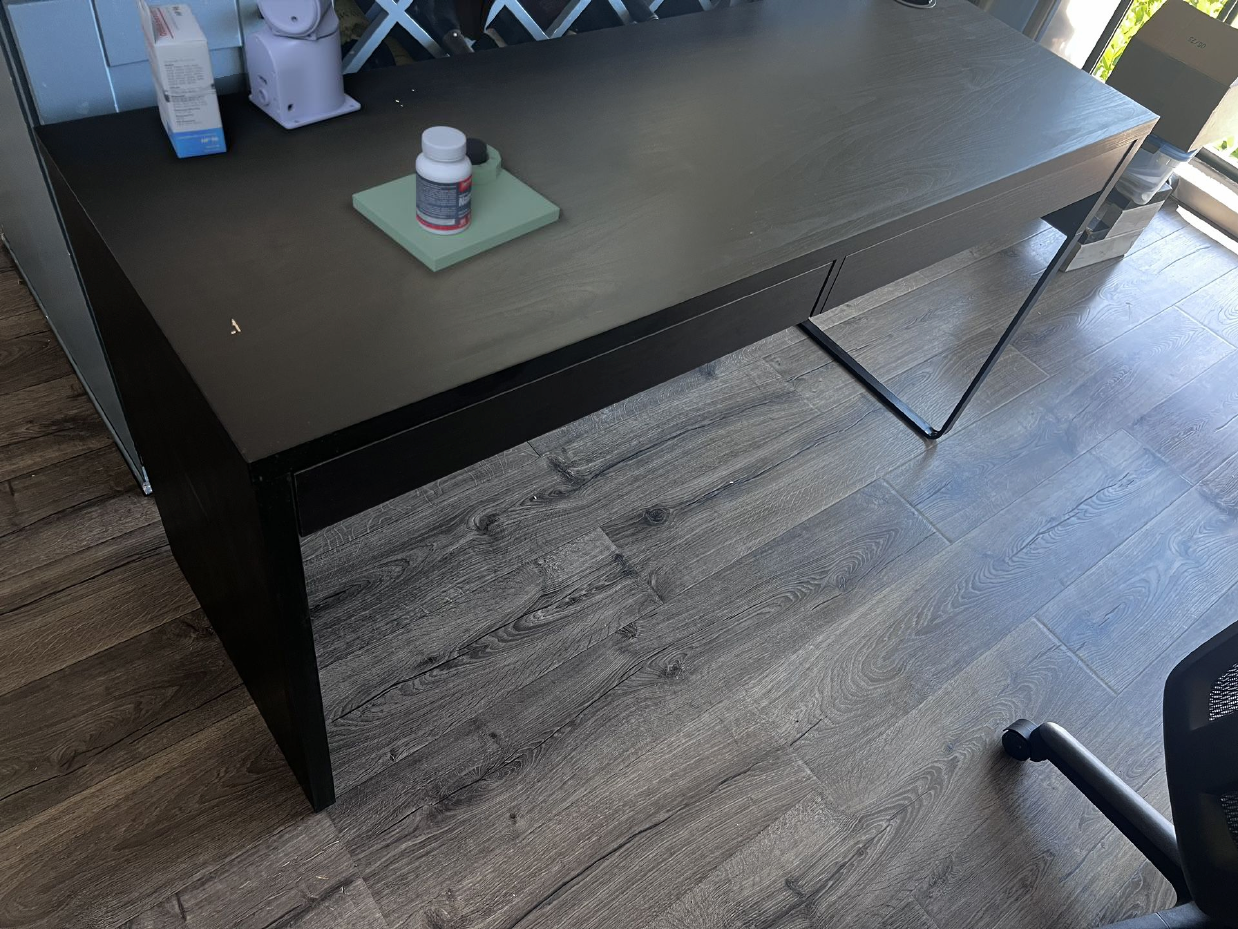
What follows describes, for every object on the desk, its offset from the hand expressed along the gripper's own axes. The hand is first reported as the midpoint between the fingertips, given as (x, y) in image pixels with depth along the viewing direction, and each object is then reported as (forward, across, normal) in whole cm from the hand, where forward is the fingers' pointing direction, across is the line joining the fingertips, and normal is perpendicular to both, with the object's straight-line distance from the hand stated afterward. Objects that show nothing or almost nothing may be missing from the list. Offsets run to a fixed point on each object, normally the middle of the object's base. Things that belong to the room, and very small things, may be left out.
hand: (471, 36), depth 100 cm
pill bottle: (+9, -15, -15) cm, 23 cm away
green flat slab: (+10, -12, -13) cm, 21 cm away
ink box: (+11, -26, +13) cm, 31 cm away
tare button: (+8, -7, -9) cm, 14 cm away
